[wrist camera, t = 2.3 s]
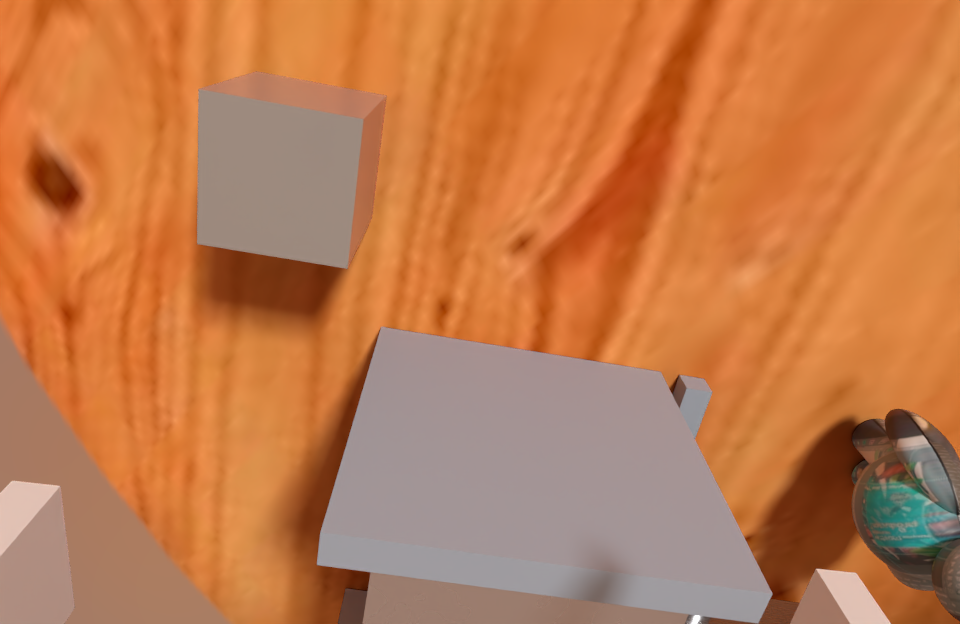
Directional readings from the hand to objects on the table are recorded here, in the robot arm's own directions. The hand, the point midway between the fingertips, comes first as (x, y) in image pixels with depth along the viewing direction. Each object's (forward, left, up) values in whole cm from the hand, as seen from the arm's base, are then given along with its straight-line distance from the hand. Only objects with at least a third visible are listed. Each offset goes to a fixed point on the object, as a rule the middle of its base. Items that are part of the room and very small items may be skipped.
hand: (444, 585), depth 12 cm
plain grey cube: (-3, -6, -19) cm, 20 cm away
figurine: (+7, +22, -19) cm, 29 cm away
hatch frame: (+13, +5, -18) cm, 23 cm away
